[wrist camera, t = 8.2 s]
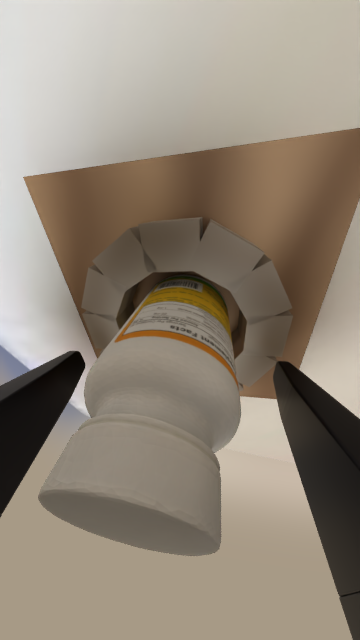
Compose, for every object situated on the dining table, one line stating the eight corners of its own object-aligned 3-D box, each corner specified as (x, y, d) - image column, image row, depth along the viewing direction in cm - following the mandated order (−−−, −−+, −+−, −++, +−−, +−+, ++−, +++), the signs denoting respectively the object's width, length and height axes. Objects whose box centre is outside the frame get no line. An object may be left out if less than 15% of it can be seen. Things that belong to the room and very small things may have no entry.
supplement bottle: (185, 355, 14) (144, 560, 6) (131, 308, 13) (-24, 492, 4) (245, 317, 12) (321, 580, 3) (187, 252, 10) (69, 439, 2)
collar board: (369, 132, 7) (464, 85, 5) (284, 391, 15) (300, 431, 13) (36, 179, 10) (-32, 167, 7) (112, 378, 18) (93, 409, 15)
